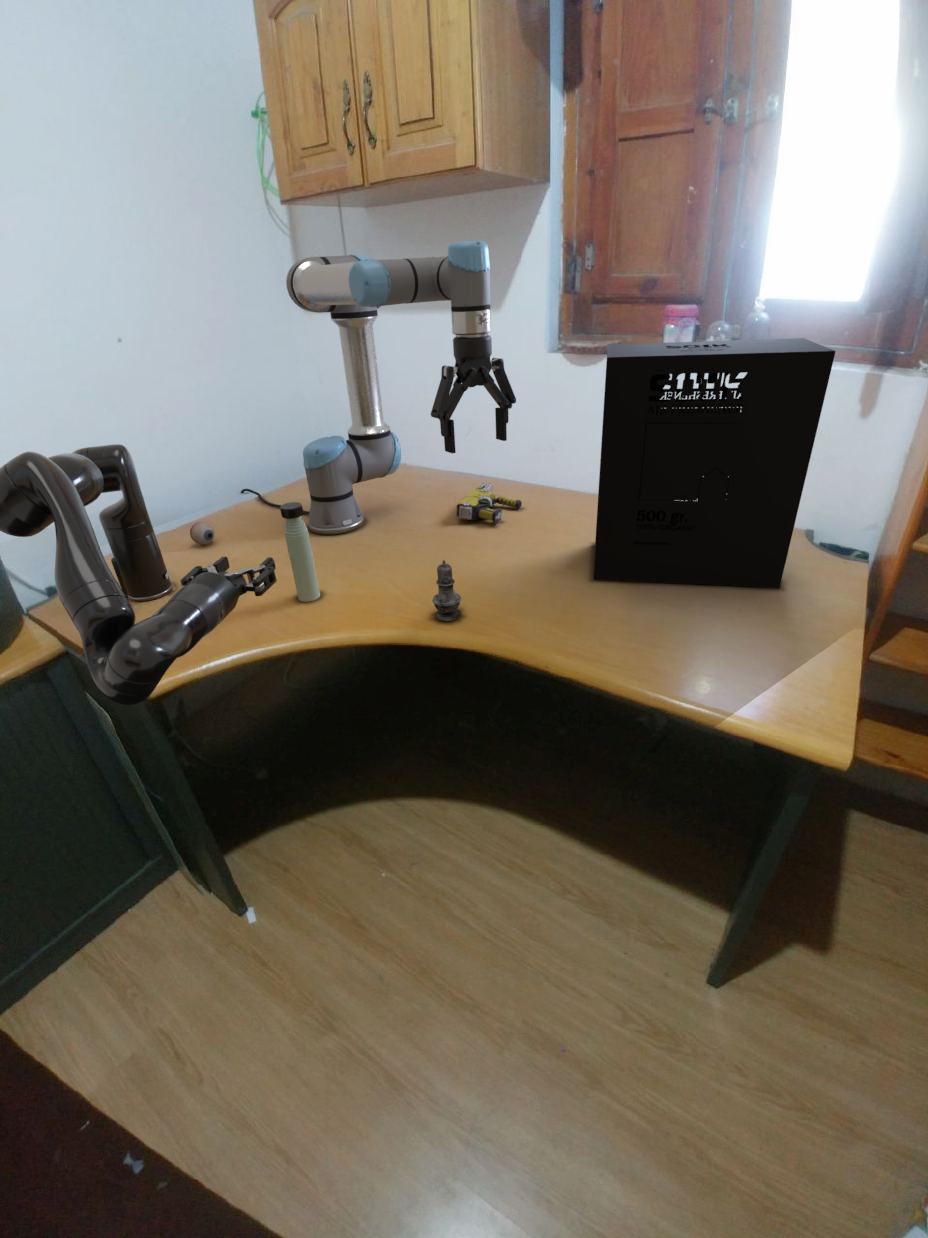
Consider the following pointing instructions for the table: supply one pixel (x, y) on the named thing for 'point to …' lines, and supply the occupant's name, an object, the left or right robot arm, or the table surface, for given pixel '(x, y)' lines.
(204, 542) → the eyeball
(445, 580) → the salt shaker
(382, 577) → the table surface
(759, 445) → the cardboard box
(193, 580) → the left robot arm
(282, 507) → the cap
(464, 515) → the toy gun
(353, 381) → the right robot arm
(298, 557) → the bottle
